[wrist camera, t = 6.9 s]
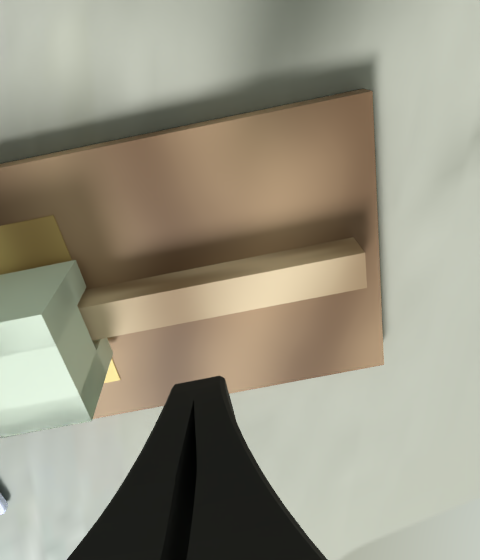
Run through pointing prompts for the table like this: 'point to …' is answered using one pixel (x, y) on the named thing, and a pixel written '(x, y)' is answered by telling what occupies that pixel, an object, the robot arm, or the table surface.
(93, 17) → the table surface
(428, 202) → the table surface
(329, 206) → the track board
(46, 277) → the block
